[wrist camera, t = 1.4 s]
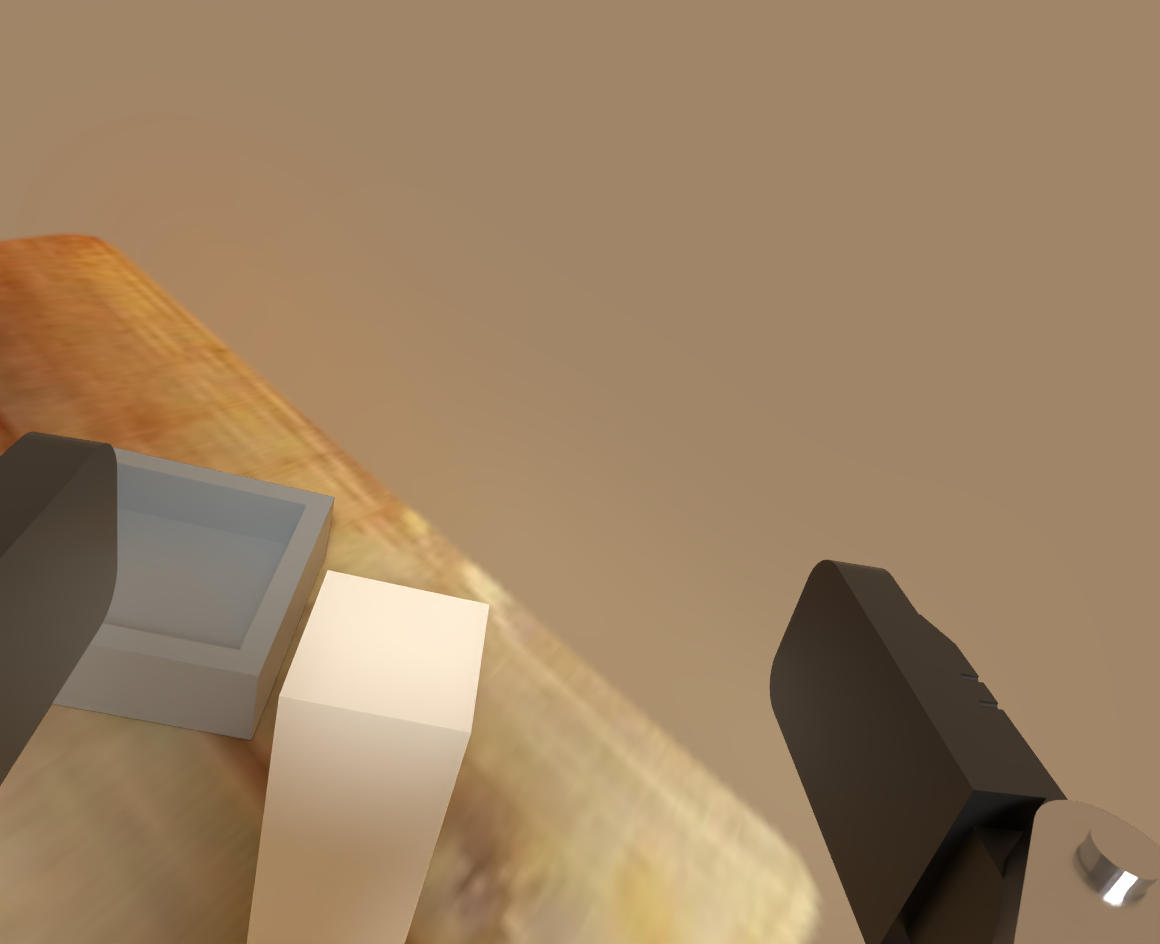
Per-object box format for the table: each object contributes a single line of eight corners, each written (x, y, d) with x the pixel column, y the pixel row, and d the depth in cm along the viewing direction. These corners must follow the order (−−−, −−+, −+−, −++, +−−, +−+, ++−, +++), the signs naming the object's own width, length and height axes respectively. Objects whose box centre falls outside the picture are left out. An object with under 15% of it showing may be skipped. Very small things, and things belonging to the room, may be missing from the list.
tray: (-64, 682, 31) (-76, 611, 29) (85, 503, 40) (83, 440, 38) (251, 740, 33) (258, 676, 31) (325, 554, 42) (334, 497, 40)
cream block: (244, 961, 26) (279, 695, 20) (287, 828, 30) (327, 569, 24) (392, 983, 27) (471, 732, 21) (416, 850, 31) (489, 604, 25)
